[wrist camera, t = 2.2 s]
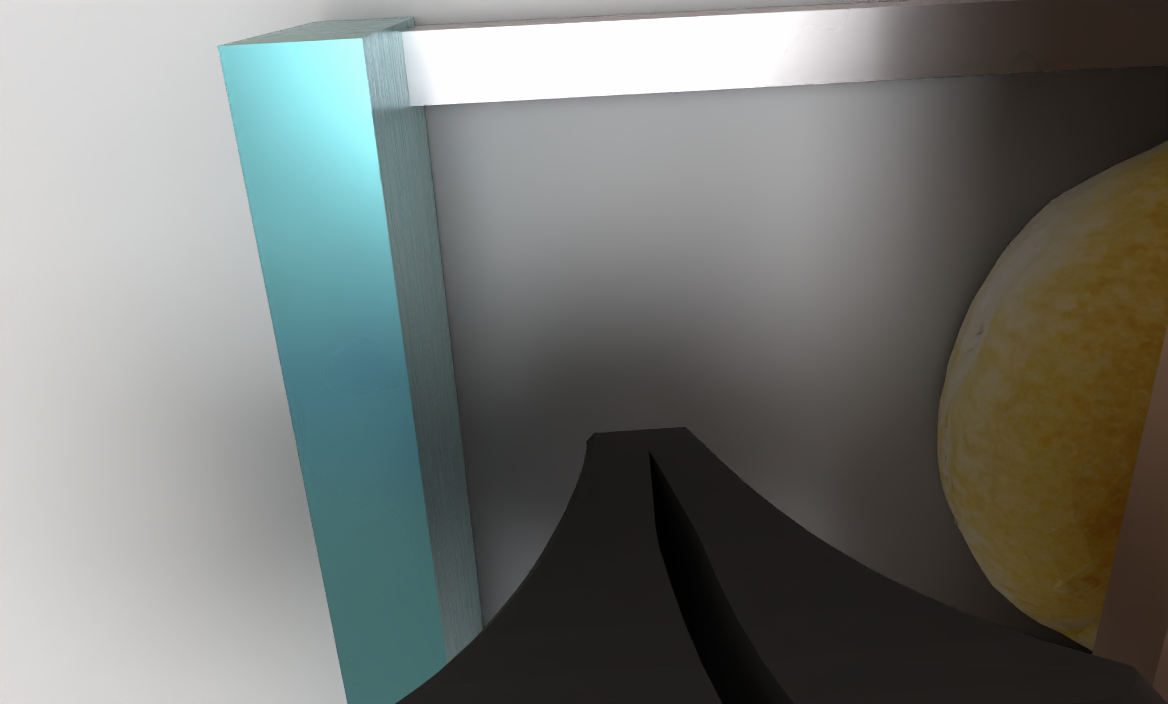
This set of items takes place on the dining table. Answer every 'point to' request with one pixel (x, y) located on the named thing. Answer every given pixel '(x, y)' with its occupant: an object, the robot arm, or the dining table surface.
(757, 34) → the drawer
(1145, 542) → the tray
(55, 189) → the dining table surface
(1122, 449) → the bread roll
